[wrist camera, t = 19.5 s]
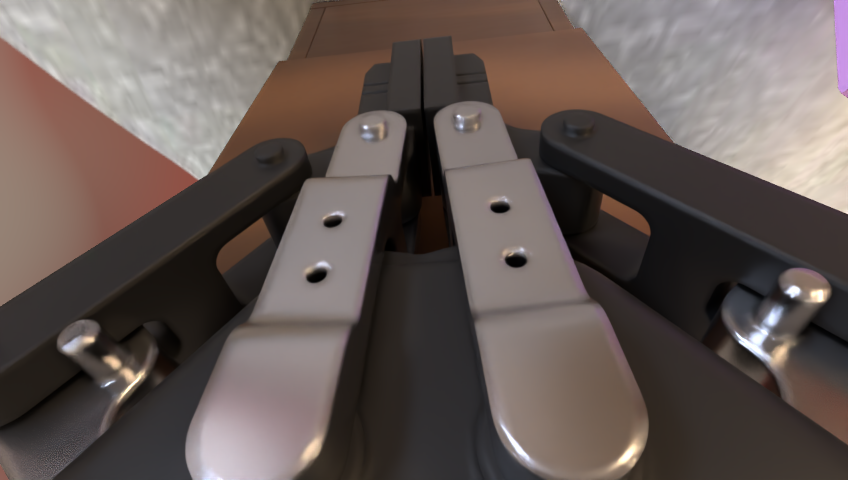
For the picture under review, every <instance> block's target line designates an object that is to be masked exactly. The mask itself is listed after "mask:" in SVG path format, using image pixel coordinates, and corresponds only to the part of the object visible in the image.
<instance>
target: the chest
mask: <svg viewBox="0 0 848 480" xmlns="http://www.w3.org/2000/svg"><path fill="white" fill-rule="evenodd" d="M567 29H574V28H573V26H572V25H571V23H570V21H569V20H568V18H567V16H566V15H565V13H564V11H563V10H562V8H561V6H560V5H559V3H558V1H557V0H338V1H329V2H321V3H313V4H312V6H311V8H310V11H309V13H308V16H307V18H306V20H305V22H304V24H303V26H302V29H301V31H300V33H299V35H298V37H297V40H296V42H295V44H294V46H293V48H292V50H291V53H290V55H289V57H288V59H287V60H295V59H304V58H313V57H322V56H331V55H340V54H349V53H358V52H368V51H377V50H386V49H392V44H393V42H398V41H407V40H416V39H421V43H422V45H423V39H424V38H432V37H441V36H450V35H451V36H452V42H458V41H467V40H477V39H486V38H495V37H504V36H513V35H522V34H531V33H540V32H549V31H558V30H567Z"/></svg>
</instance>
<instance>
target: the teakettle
mask: <svg viewBox="0 0 848 480" xmlns="http://www.w3.org/2000/svg"><path fill="white" fill-rule="evenodd" d="M834 13H835V32H836V51H837V70H838V89H839V90H840V92H841V93H842V94H843V95H844V96H846V97H847V98H848V0H834Z"/></svg>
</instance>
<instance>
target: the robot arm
mask: <svg viewBox="0 0 848 480" xmlns="http://www.w3.org/2000/svg"><path fill="white" fill-rule="evenodd" d="M423 58H424V59H423ZM431 169H432V178H433V186H434V194H435V196H439V195H442V203H443V213H444V222H445V228H446V234H447V240H448V246H449V248H445V249H441V250H438V251H434V252H431V253H427V254H418V252H419V243H420V233H421V224H422V220H421V213H420V209H421V206H422V197H429V196H432V190H431ZM603 194H605V195H607V196H609V197H610V198H612V199H614V200H616V201H618V202H620V203H622V204H624V205H626V206H627V207H629V208H631V209H633V210H635V211H637V212H638V213H640V214H641V215H642V216H643V217H644V218H645V219H646V221H647V222H648V224H649V227H650V236H648V235H647V234H645V233H643V232H641V231H639V230H638V229H636V228H634V227H632V226H630V225H629V224H627V223H625V222H623V221H621V220H620V219H618V218H616V217H614V216H612V215H611V214H609V213H607V212H605V211H603V210H602V209H600V208H601V203H602V198H603ZM260 218H262V219H263V221H264V223H265V225H266V227H267V229H268V231H269V233H270V235H271V237H270V238H268V239H267V240H266V241H265V242H263V243H262V244H261V245H259V246H258V247H257V248H256V249H254V250H253V251H252V252H250V253H249V254H248V255H247V256H245V257H244V258H243V259H241V260H240V261H239V262H238V263H236V264H235V265H234V266H232V267H231V268H230V269H229V270H227V271H226V272H225V273H223V274H222V275H221V273H220V271H219V270H218V268H217V265H216V260H217V256H218V254H219V252H220V250H221V249H222V248H223V246H224V245H226V244H227V243H228V242H229V241H231V240H232V239H234V238H235V237H236V236H238V235H239V234H240V233H242V232H243V231H244V230H246V229H247V228H248V227H250V226H251V225H252V224H254V223H255V222H256V221H258V220H259V219H260ZM0 464H1V466H2V468H3V470H4V471H5V473H6V475H7V477H8V479H9V480H848V214H846V213H843V212H841V211H838V210H836V209H833V208H831V207H828V206H826V205H824V204H821V203H819V202H816V201H814V200H811V199H809V198H806V197H804V196H802V195H799V194H797V193H794V192H792V191H789V190H787V189H784V188H782V187H779V186H777V185H775V184H772V183H770V182H767V181H765V180H762V179H760V178H757V177H755V176H753V175H750V174H748V173H745V172H743V171H740V170H738V169H735V168H733V167H731V166H728V165H726V164H723V163H721V162H718V161H716V160H713V159H711V158H708V157H706V156H704V155H701V154H699V153H696V152H694V151H691V150H689V149H686V148H684V147H682V146H679V145H677V144H674V143H672V142H669V141H667V140H664V139H662V138H660V137H657V136H655V135H652V134H650V133H647V132H645V131H642V130H640V129H637V128H635V127H633V126H630V125H628V124H625V123H623V122H620V121H618V120H615V119H613V118H611V117H608V116H606V115H603V114H601V113H598V112H594V111H590V110H583V109H571V110H564V111H559V112H557V113H554V114H552V115H550V116H548V117H547V118H546V119H545V120H544V121H543V123H542V124H541V131H539V130H528V129H521V128H516V127H513V126H510V125H508V124H506V123H504V121H503V119H502V116H501V114H500V112H499V110H498V109H497V108H495V107H494V106H493V101H492V97H491V92H490V88H489V83H488V79H487V74H486V69H485V65H484V61H483V60H482V59H481V58H479V57H478V56H477V55H476V54H474V53H467V54H458V55H454V53H453V45H452V36H451V35H450V36H441V37H432V38H424V39H423V50H422V43H421V39H416V40H407V41H398V42H393V44H392V53H391V62H387V63H378V64H374V65H373V66H372V67H371V68H370V69H369V70H368V72H367V73H366V74H365V78H364V83H363V88H362V95H361V99H360V105H359V110H358V116H356V117H354V118H352V119H350V120H349V121H348V122H347V123H346V124H345V125H344V126H343V128H342V130H341V133H340V136H339V138H338V141H337V144H336V145H335V146H333V147H331V148H328V149H325V150H321V151H318V152H315V153H311V154H308V155H307V153H306V150H305V147H304V145H303V144H302V143H301V142H300V141H298V140H296V139H292V138H275V139H270V140H266V141H263V142H260V143H258V144H256V145H254V146H252V147H251V148H249V149H247V150H246V151H244V152H243V153H241V154H240V155H238V156H236V157H235V158H233V159H232V160H230V161H229V162H227V163H225V164H224V165H222V166H221V167H219V168H218V169H216V170H214V171H213V172H211V173H210V174H208V175H206V176H205V177H203V178H202V179H200V180H199V181H197V182H195V183H194V184H192V185H191V186H189V187H188V188H186V189H185V190H183V191H181V192H180V193H178V194H177V195H175V196H173V197H172V198H170V199H169V200H167V201H166V202H164V203H162V204H161V205H159V206H158V207H156V208H155V209H153V210H151V211H150V212H148V213H147V214H145V215H144V216H142V217H140V218H139V219H137V220H136V221H134V222H133V223H131V224H130V225H128V226H126V227H125V228H123V229H122V230H120V231H118V232H117V233H115V234H114V235H112V236H111V237H109V238H107V239H106V240H104V241H103V242H101V243H99V244H98V245H96V246H95V247H93V248H92V249H90V250H88V251H87V252H85V253H84V254H82V255H81V256H79V257H77V258H76V259H74V260H73V261H71V262H70V263H68V264H66V265H65V266H63V267H62V268H60V269H59V270H57V271H55V272H54V273H52V274H51V275H49V276H48V277H46V278H44V279H43V280H41V281H40V282H38V283H36V284H35V285H33V286H32V287H30V288H29V289H27V290H26V291H24V292H23V293H21V294H19V295H18V296H16V297H14V298H13V299H11V300H10V301H8V302H7V303H5V304H3V305H2V306H0Z"/></svg>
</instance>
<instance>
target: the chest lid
mask: <svg viewBox="0 0 848 480" xmlns="http://www.w3.org/2000/svg"><path fill="white" fill-rule="evenodd" d="M452 45H453V53H454V55H458V54H467V53H474V54H476V55H477V56H478V57H479V58H481V59H482V60H483V61H484V65H485V69H486V74H487V79H488V83H489V88H490V92H491V97H492V101H493V106H494V107H495V108H497V109H498V110H499V112H500V114H501V116H502V119H503V121H504V123H506V124H508V125H510V126H513V127H516V128H521V129H528V130H539V131H541V124H542V123H543V121H544V120H545V119H546V118H547V117H548V116H550V115H552V114H554V113H557V112H559V111H564V110H571V109H583V110H590V111H594V112H598V113H601V114H603V115H606V116H608V117H611V118H613V119H615V120H618V121H620V122H623V123H625V124H628V125H630V126H633V127H635V128H637V129H640V130H642V131H645V132H647V133H650V134H652V135H655V136H657V137H660V138H662V139H664V140H667V141H669V142H672V143H673V141H672V140H671V139H670V138H669V136H668V135H667V134H666V133H665V131H664V130H663V129H662V128H661V126H660V125H659V124H658V123H657V121H656V120H655V119H654V118H653V116H652V115H651V114H650V113H649V111H648V110H647V109H646V108H645V106H644V105H643V104H642V103H641V101H640V100H639V99H638V98H637V96H636V95H635V94H634V93H633V91H632V90H631V89H630V88H629V86H628V85H627V84H626V83H625V81H624V80H623V79H622V78H621V76H620V75H619V74H618V73H617V71H616V70H615V69H614V68H613V66H612V65H611V64H610V63H609V61H608V60H607V59H606V58H605V56H604V55H603V54H602V53H601V51H600V50H599V49H598V48H597V46H596V45H595V44H594V43H593V41H592V40H591V39H590V38H589V36H588V35H587V34H586V33H585V31H584V30H583V29H582V28H577V29H567V30H558V31H549V32H540V33H531V34H522V35H513V36H504V37H495V38H486V39H477V40H467V41H458V42H452ZM422 50H423V45H422ZM391 53H392V49H386V50H377V51H368V52H358V53H349V54H340V55H331V56H322V57H313V58H304V59H295V60H286V61H279V62H278V63H277V65H276V66H275V68H274V70H273V71H272V73H271V74H270V76H269V78H268V79H267V81H266V82H265V84H264V86H263V87H262V89H261V90H260V92H259V94H258V95H257V97H256V98H255V100H254V101H253V103H252V105H251V106H250V108H249V109H248V111H247V113H246V114H245V116H244V117H243V119H242V121H241V122H240V124H239V125H238V127H237V129H236V130H235V132H234V133H233V135H232V137H231V138H230V140H229V141H228V143H227V145H226V146H225V148H224V149H223V151H222V152H221V154H220V156H219V157H218V159H217V160H216V162H215V164H214V165H213V167H212V168H211V170H210V172H209V173H208V174H210V173H211V172H213V171H214V170H216V169H218V168H219V167H221V166H222V165H224V164H225V163H227V162H229V161H230V160H232V159H233V158H235V157H236V156H238V155H240V154H241V153H243V152H244V151H246V150H247V149H249V148H251V147H252V146H254V145H256V144H258V143H260V142H263V141H266V140H270V139H275V138H292V139H296V140H298V141H300V142H301V143H302V144H303V145H304V147H305V150H306V153H307V155H308V154H311V153H315V152H318V151H321V150H325V149H328V148H331V147H333V146H335V145H336V144H337V141H338V138H339V136H340V133H341V130H342V128H343V126H344V125H345V124H346V123H347V122H348V121H349V120H350V119H352V118H354V117H356V116H358V110H359V105H360V99H361V95H362V88H363V83H364V78H365V74H366V73H367V72H368V70H369V69H370V68H371V67H372V66H373V65H374V64H378V63H387V62H391ZM423 59H424V58H423ZM431 190H432V196H429V197H422V206H421V209H420V213H421V220H422V224H421V233H420V243H419V252H418V254H427V253H431V252H434V251H438V250H441V249H445V248H449V246H448V240H447V234H446V228H445V222H444V213H443V203H442V195H439V196H435V194H434V186H433V178H432V169H431ZM600 209H602V210H603V211H605V212H607V213H609V214H611V215H612V216H614V217H616V218H618V219H620V220H621V221H623V222H625V223H627V224H629V225H630V226H632V227H634V228H636V229H638V230H639V231H641V232H643V233H645V234H647V235H648V236H650V227H649V224H648V222H647V221H646V219H645V218H644V217H643V216H642V215H641V214H640V213H638V212H637V211H635V210H633V209H631V208H629V207H627V206H626V205H624V204H622V203H620V202H618V201H616V200H614V199H612V198H610V197H609V196H607V195H605V194H603V198H602V203H601V208H600ZM270 237H271V235H270V233H269V231H268V229H267V227H266V225H265V223H264V221H263V219H262V218H260V219H259V220H258V221H256V222H255V223H254V224H252V225H251V226H250V227H248V228H247V229H246V230H244V231H243V232H242V233H240V234H239V235H238V236H236V237H235V238H234V239H232V240H231V241H229V242H228V243H227V244H226V245H224V246H223V248H222V249H221V250H220V252H219V254H218V256H217V260H216V265H217V268H218V270H219V271H220V273H221V275H222V274H223V273H225V272H226V271H227V270H229V269H230V268H231V267H232V266H234V265H235V264H236V263H238V262H239V261H240V260H241V259H243V258H244V257H245V256H247V255H248V254H249V253H250V252H252V251H253V250H254V249H256V248H257V247H258V246H259V245H261V244H262V243H263V242H265V241H266V240H267V239H268V238H270Z"/></svg>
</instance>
